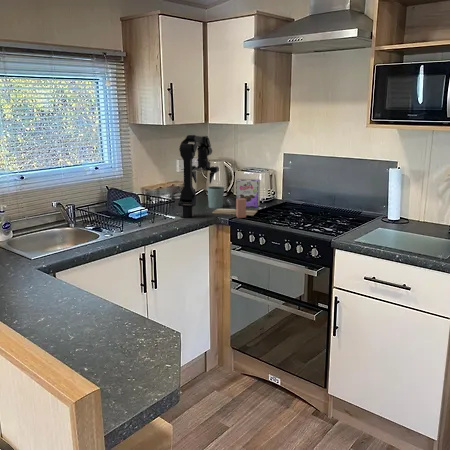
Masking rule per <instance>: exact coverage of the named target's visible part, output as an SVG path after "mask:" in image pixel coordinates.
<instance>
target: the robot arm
mask: <svg viewBox="0 0 450 450" xmlns="http://www.w3.org/2000/svg"><path fill="white" fill-rule="evenodd" d="M179 145H180V146H179V149H178V150H179V153H180V154H179V155H180V157H181V158H182V160H183V188H182V189H181V191H180V196H179V199H178V202H177V205H178V207H181V213H182V215H181V216H180V215H179V218H184V219H185V218H186V219H191V218H193V217H195V214H193V210H194V209H193V208H194V207H195V206H197V205H196V204H197V195H196V193H197V192H196V191H197V190H196V188H194V186H193V181H194V184H197V171H209V179H208V181H209V184H211V183H212V180H213V178H214V176H215V174H216V173H218V172H219V171H220V167H219V166H216V165H215V166H211V162H210V161H209V158H208V156H210V155H212V154H213V149H212V147H211V146H212V144H211V141H210V138H209V136H208V135H196V134H188V135H187V136H186V137H185V138H184V139H183V140H182V141H181V143H180V144H179ZM196 151H197V166H196V165H193V159H194V158H195V156H196Z"/></svg>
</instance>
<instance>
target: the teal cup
mask: <svg viewBox="0 0 450 450" xmlns="http://www.w3.org/2000/svg"><path fill="white" fill-rule="evenodd" d="M224 193H225V187H224V186H216V185H215V186H208V187H207V199H208V208H210V209H223V206H224Z"/></svg>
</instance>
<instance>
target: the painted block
mask: <svg viewBox="0 0 450 450" xmlns="http://www.w3.org/2000/svg"><path fill="white" fill-rule="evenodd" d="M235 208H236V215H235V217H236V218H238V219H241V218H242V219H243V218H247V215H246V210H247V206H246V199H245V198H236V197H235Z"/></svg>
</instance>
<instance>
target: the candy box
mask: <svg viewBox="0 0 450 450" xmlns="http://www.w3.org/2000/svg"><path fill="white" fill-rule="evenodd" d="M235 185H236V186H235V199H236V198H245V199H246V208H247V207H250V208H258V207H260V192H261V191H260V190H261V189H260V188H261V187H260V186H261V180H260V179H255V178H254V179H253V178H237V179H236V180H235Z"/></svg>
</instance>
